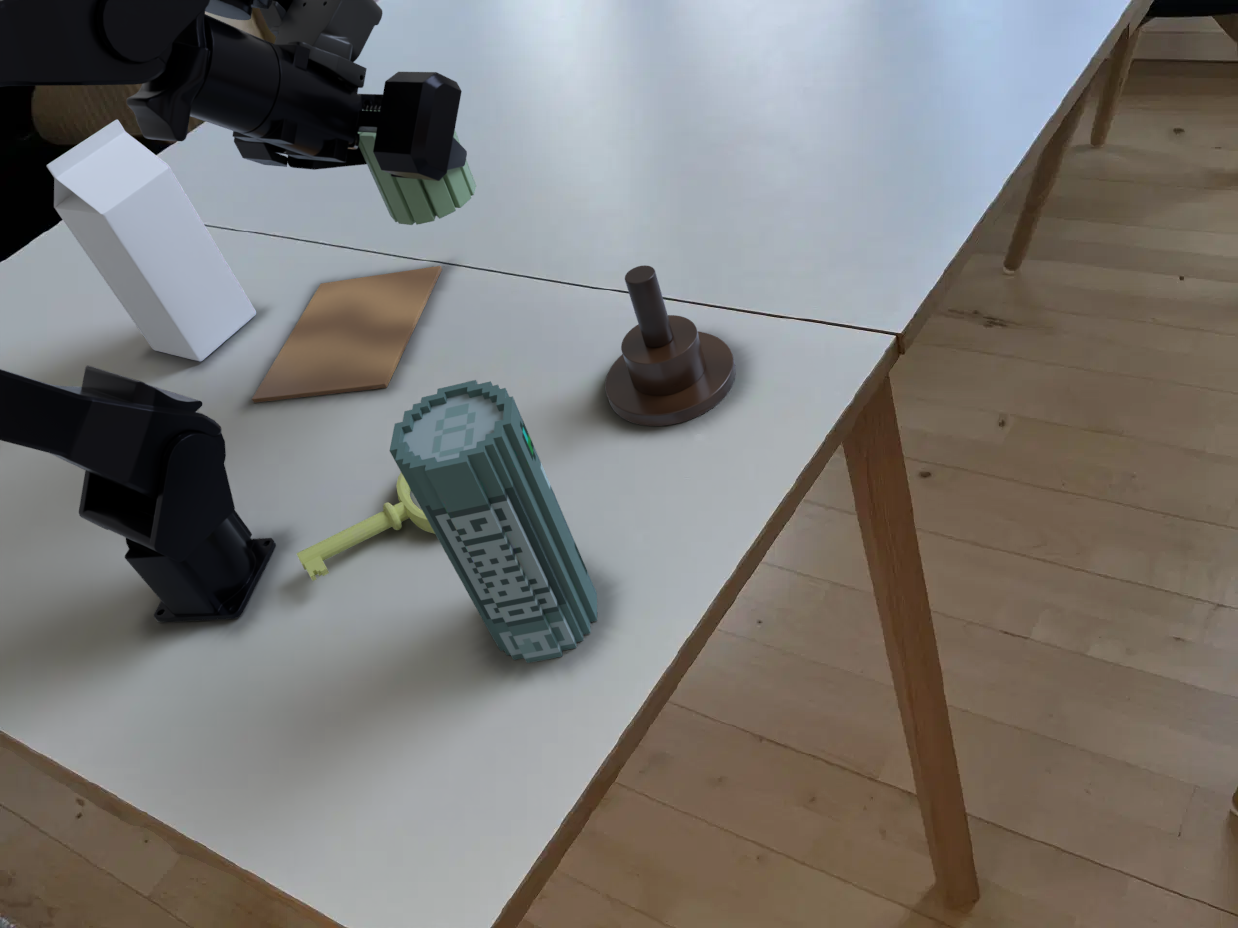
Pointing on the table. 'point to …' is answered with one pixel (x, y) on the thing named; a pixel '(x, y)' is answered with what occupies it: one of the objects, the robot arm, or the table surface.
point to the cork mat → (349, 336)
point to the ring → (418, 189)
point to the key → (364, 530)
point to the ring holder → (665, 362)
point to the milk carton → (149, 243)
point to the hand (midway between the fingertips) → (430, 156)
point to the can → (497, 518)
